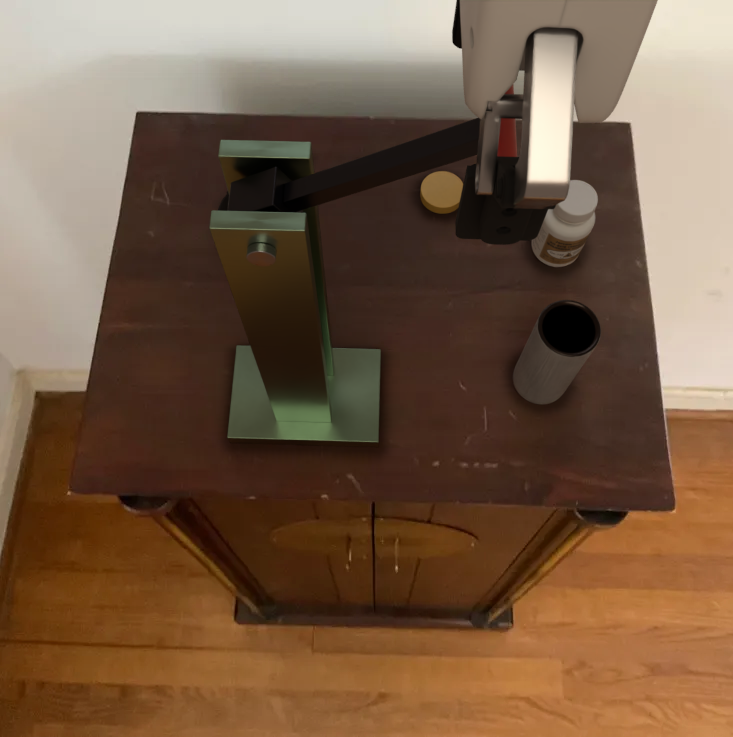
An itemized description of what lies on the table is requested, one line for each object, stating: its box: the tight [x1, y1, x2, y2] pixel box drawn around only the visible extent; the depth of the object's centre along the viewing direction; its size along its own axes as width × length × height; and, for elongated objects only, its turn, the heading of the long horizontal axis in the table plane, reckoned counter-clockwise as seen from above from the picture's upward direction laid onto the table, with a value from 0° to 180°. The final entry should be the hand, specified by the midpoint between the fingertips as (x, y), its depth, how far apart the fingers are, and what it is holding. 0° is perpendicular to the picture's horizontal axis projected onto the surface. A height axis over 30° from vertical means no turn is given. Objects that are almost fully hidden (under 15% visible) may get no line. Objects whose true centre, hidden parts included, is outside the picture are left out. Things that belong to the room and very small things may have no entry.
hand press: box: [208, 139, 382, 448], centre depth 50 cm, size 12×8×30 cm, turn 88°
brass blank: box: [419, 170, 464, 215], centre depth 71 cm, size 4×4×1 cm
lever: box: [228, 83, 518, 213], centre depth 35 cm, size 14×5×2 cm, turn 88°
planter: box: [512, 299, 602, 405], centre depth 59 cm, size 4×4×10 cm
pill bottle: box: [531, 179, 599, 268], centre depth 65 cm, size 4×4×8 cm
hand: (490, 133), depth 32 cm, fingers open, 9 cm apart
